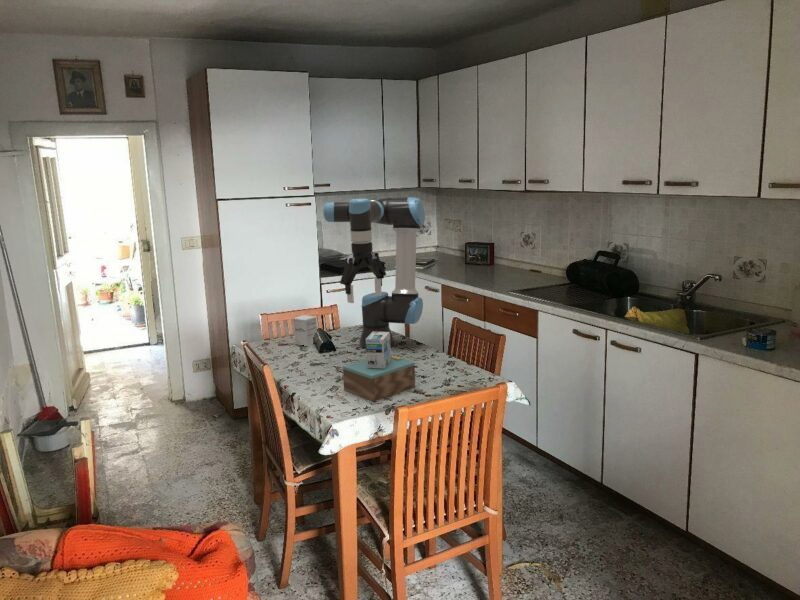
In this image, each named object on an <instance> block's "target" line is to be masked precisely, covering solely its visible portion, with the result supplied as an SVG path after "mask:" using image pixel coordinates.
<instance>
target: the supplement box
mask: <svg viewBox="0 0 800 600" xmlns="http://www.w3.org/2000/svg"><path fill="white" fill-rule="evenodd" d="M293 324H294V325H293V327H294V328H293V329H294V343H295V344H298V345H297V346H300V345H304V346H303V347H305V346H308V347H310V346H309V345H311V344H313V337H314V335H315V333H316V332H317V333H318V330H317V328H318V327H317V316H314V315H313V316H312V315H306V314H304V315H299V316H297V317H294V318H293ZM311 346H312V345H311Z"/></svg>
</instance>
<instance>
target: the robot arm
mask: <svg viewBox="0 0 800 600" xmlns="http://www.w3.org/2000/svg"><path fill="white" fill-rule="evenodd" d="M323 218H324V219H325V221H326V222H329V223H349V225H350V226H349V227H350V241H351V242H352V243H351V253H352V257H346V258H345V265H344V268H343V272H342V275H341V279H340V282H339V283H340V285H344V287H345V288H344V289H345V294H346V298H347V299H346V300H347V303H350V304H354V302H355V299H354V297H355V296H354V285H353V284H352V283H353V282H354V279H355V278H356V275H358V274H357V273H358V272H359V271H360V270H361V269H363V268H368V269H369V270H370V271H371V273H372V274H373V275H374V276H375V277H374V292H370V293H368V294H365V295H364V296H362V298H361V316H362V330H361V335H360V338H359V347H361V348H364V349H366V338H367V337H368V336H369V335H370V334H371V333H372V332H373V331H375V332H390V347H392V346H393V345H394V344H395V343H394V342H395V341H394V337H393V333H392V331H391V329H390V324H405V325H414V324H417V323H418V322H419V321H420V319H421V317H422V314H423V309H424V302H423V301H424V299H422V297H420V296H419V291H417V290H416V268H417V267H416V264H417V263H416V262H417V258H416V257H417V233H418V232H419V231H420V230H421V226H423V225H424V224H425V219H426V213H425V207H424V204H423V202H422V200H421V199H420V198H418V197H410V196H409V197H384V198H378V199H371V200H370V199H369V198H353V199H350V200H349V201H340V202H339V201H332V202H331V201H330V202H326V203H325V205H324V207H323ZM373 223H374V224H379V225H386V226H387V225H388V226H392V230H393V231H394V232H395V234H396V238H395V240H396V241H395V246H396V247H395V285H394V286H395V287H394V289H393V291H391V295H389V293H388V292H387V291H382V286H383V279H384V278H385V276H387V273H386V271H385V268H384V266H383V263H382V262H381V260H380V255H379V252H375V251H373V242H372V240H373V235H372V234H373V233H372V224H373Z"/></svg>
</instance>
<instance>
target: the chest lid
mask: <svg viewBox="0 0 800 600" xmlns="http://www.w3.org/2000/svg"><path fill="white" fill-rule="evenodd" d="M414 365H415V362H414V361H411V360H408V359H404V358H403V357H400V356H397V355H391V361H390V362H389V364H388V365H387V366H386V368H385V369H379V368H367V358H366V359H363V360H359V361H356V362H353V363H350V364H345V365H343V366H342V370H343V369H345V370H347V371H350V372H353V373H356V374H359V375H362V376H365V377H368V378H370V379H373V378H376V377H380V376H383V375H386V374H389V373H392V372H395V371H398V370H401V369H404V368H408V367H411V366H414Z"/></svg>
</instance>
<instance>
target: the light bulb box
mask: <svg viewBox="0 0 800 600" xmlns="http://www.w3.org/2000/svg"><path fill="white" fill-rule="evenodd" d="M365 351H366V353H365V354H366V359H367V368H379V369H385V368H386V366H387V365H388V364H389V362H390V361H391V356H392V355H391V353H392V352H391V351H392V350H391V346H390V332H375V331H373V332H372V333H371V334H370V335H369V336H368V337H367V338H366V348H365Z"/></svg>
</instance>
